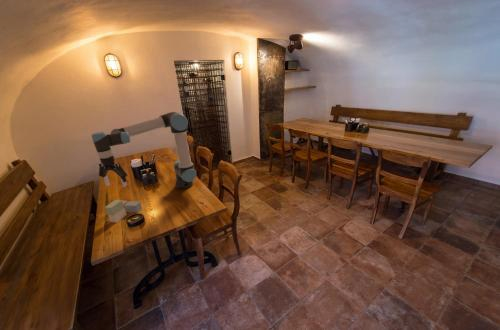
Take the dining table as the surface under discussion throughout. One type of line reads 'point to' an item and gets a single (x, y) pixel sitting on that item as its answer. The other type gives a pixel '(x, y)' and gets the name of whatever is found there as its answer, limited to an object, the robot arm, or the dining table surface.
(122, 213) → the cream brick
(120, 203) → the green brick
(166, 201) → the dining table surface
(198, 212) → the dining table surface
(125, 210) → the terracotta brick
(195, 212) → the dining table surface
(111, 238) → the dining table surface
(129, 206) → the slate brick
